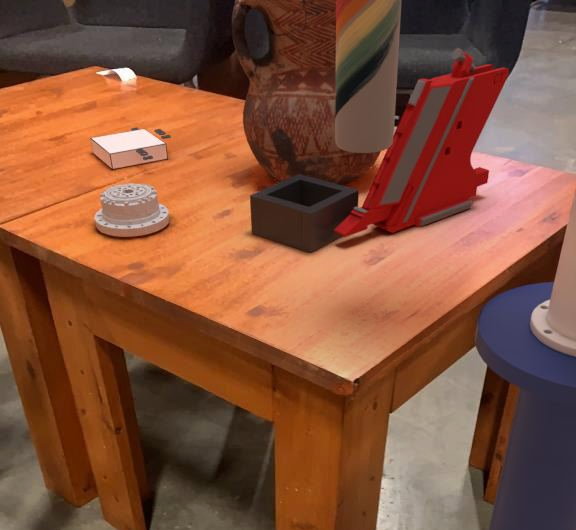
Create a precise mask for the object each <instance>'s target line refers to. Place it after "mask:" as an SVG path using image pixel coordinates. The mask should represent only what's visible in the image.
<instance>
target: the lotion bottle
mask: <svg viewBox="0 0 576 530" xmlns="http://www.w3.org/2000/svg"><path fill="white" fill-rule="evenodd" d="M401 13H402V0H336V90H335V140H336V145H337V147H338V148H340V149H342V150H345V151H348V152H355V153H372V152H378V151H381V152H382V151H385V150H387V149H388V148H389V147H390V146H391V145H392V142H393V136H394V133H395V120H396V119H395V117H396V105H397V104H396V103H397V102H396V101H397V88H398V87H397V86H398V67H399V49H400V32H401V16H402V14H401Z"/></svg>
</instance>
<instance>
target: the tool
mask: <svg viewBox="0 0 576 530" xmlns="http://www.w3.org/2000/svg"><path fill="white" fill-rule="evenodd" d="M451 59H452V60H454V63H453V65H452V67H451V68H452V71H451V73H448V74H444V75H443V74H442V75H440V76H435V77H432V78H430V79H428V78H424V77H423V78H419V79H418V80H417V83H416V84H415V86H414V89H413V91H412V93H411V96H410V98H409V100H408V102H407V104H406V107H405V109H404V111H403V113H402V115H401V117H400V120H399V122H398V125H397V127H396V129H395V130H394V135H393V142H392V145H391V146H390V147H389V148H388V149H386V151H385V153H384V156H383V158H382V161H381V163H380V165H379V166H378V167H379V168H378V170H377V172H376V174H375V176H374V179H373V181H372V183H371V185H370V187H369V190H368V191H367V195H366V197H365V199H364V201H363V203H362V206H358V207H357V206H356V207H354V208H353V210H352V211H351V214H350V215H349V216H348V217H347V218H346V219H345V220H344V221H343V222H342V223H341V224H340V225H339V226H338V227H336V228H335V229H334V232H335V233H337V234H339V235H341V237H344V238H347V237H350V236H352V235H355V234H357V233H360V232H364V231H366V230H368V227H369V226H371V225H373V226H376V227H378V228H380V229H382V230H385V231H387V232H390V233H391V234H394V233H395V232H399V231H402V230H403V229H406V228H409V227H412V226H415V227H423V226H426V225H428V224H430V223H434V222H436V221H439V220H441V219H445V218H447V217H450V216H453V215H455V214H458V213H461V212H463V211H466V210H469V209H471V208H472V203H473V200H472V199H471V198H474V197H476V196H477V191H478V187H481V186H483V185H486V184H488V182H489V175H490V170H489V169H487V168H484V167H481V166H478V167H476V168H474V167H473V165H472V162H471V160H472V159H471V158H472V153H473V151H474V149H475V147H476V145H477V142H478V140H479V139H480V136H481V134H482V132H483V130H484V128H485V126H486V123H487V121H488V120H489V117H490V115H491V113H492V111H493V109H494V106H495V105H496V103H497V100H498V98H499V97H500V94H501V92H502V90H503V88H504V86H505V85H506V82H507V80H508V78H509V74H510V70H509V68H508V67H499V68H496V69H495V66H494V65H493V64H489V63H488V64H483V65H479V66H476V65H475V64H474V63H473V61H474V58H473V57H472V56H471V55H470V54H468V53H466V52H465V51H463V49H461V48H460V47H456V48H455V49H454V50H453V51H452V54H451Z"/></svg>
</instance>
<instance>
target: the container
mask: <svg viewBox="0 0 576 530" xmlns="http://www.w3.org/2000/svg"><path fill="white" fill-rule="evenodd" d="M153 132H154V133H156V134H157V135H159V136H160V138H159V137H158V136H156V135H154V134H153ZM153 132H151V131H149V130H147V129H145V128H140V129H139V128H138V127H132V128H131V130H128V131H124V132H118V133H111V134H106V135H100V136H94V137H90V144H91V149H92V154H93V155H95V157H97V158H98V159H99V160H100V161H102V162H103V163H104V164H105V165H106V166H107V167H108V168H110V169H111V171H113V170H118V169H123V168H128V167H134V166H139V165H140V166H141V165H144V164H150V163H155V162H160V161H165V160H169V156H168V148H167V143H166V142H164V141H163V140H165V139H171V138H172V136H171V134H167V132H166V131H165V130H163V129H161V128H156V129H154V131H153Z"/></svg>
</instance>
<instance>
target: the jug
mask: <svg viewBox="0 0 576 530" xmlns="http://www.w3.org/2000/svg"><path fill="white" fill-rule="evenodd" d="M253 9H254V10H258V11H259V12H260V13H261V15H262V17H263V20H264V24H265V26H266V31H267V36H268V50H267V52H266V53H265V54H264V55H263V56H260V57H257V58H256V57H254V56H252V54H251V51H250V49H249V46H248V41H247V37H246V33H245V27H246V26H245V25H246V19H247V15H248V13H250V10H253ZM231 30H232V35H231V36H232V42H233V46H234V50H235V53H236V56H237V59H238V62H239V64H240V66H241V67H242V70H243V72H244V74H245V75H246V76H247V78H248V79H249V85H248V91H247V94H246V97H245V101H244V104H243V110H242V124H243V126H242V127H243V133H244V135H245V139H246V142H247V144H248V146H249V148H250V150H251V153H252V155H253V156H254V159H255V160H256V162H257V163H258V164H259V166H260V167H261V168H262V169H263V170H264V171H265V172H266V174H267V175H268V176H269V177H270V178H271V179H272V180H274V181H276V182H277V183H280V182H282V181H284V180H287V179H289V178H291V177H294V176H296V175H298V174H301V175H305V176H308V177H312V178H316V179H320V180H323V181H327V182H331V183H335V184H338V185H342V186H345V185H348V184H350V183H352V182H353V181H357V180H358V179H360V178H361V177H363V176H364V175H365V174H366V173H367V172H368V171H369V170H370V169H371V168H372V167H374V165H375V164H376V162H377V160H378V158H379V156H380V155H381V153H382V151H378V152H372V153H355V152H348V151H345V150H342V149H340V148H338V147H337V145H336V140H335V90H336V0H235V1H234V5H233V9H232V15H231Z"/></svg>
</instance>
